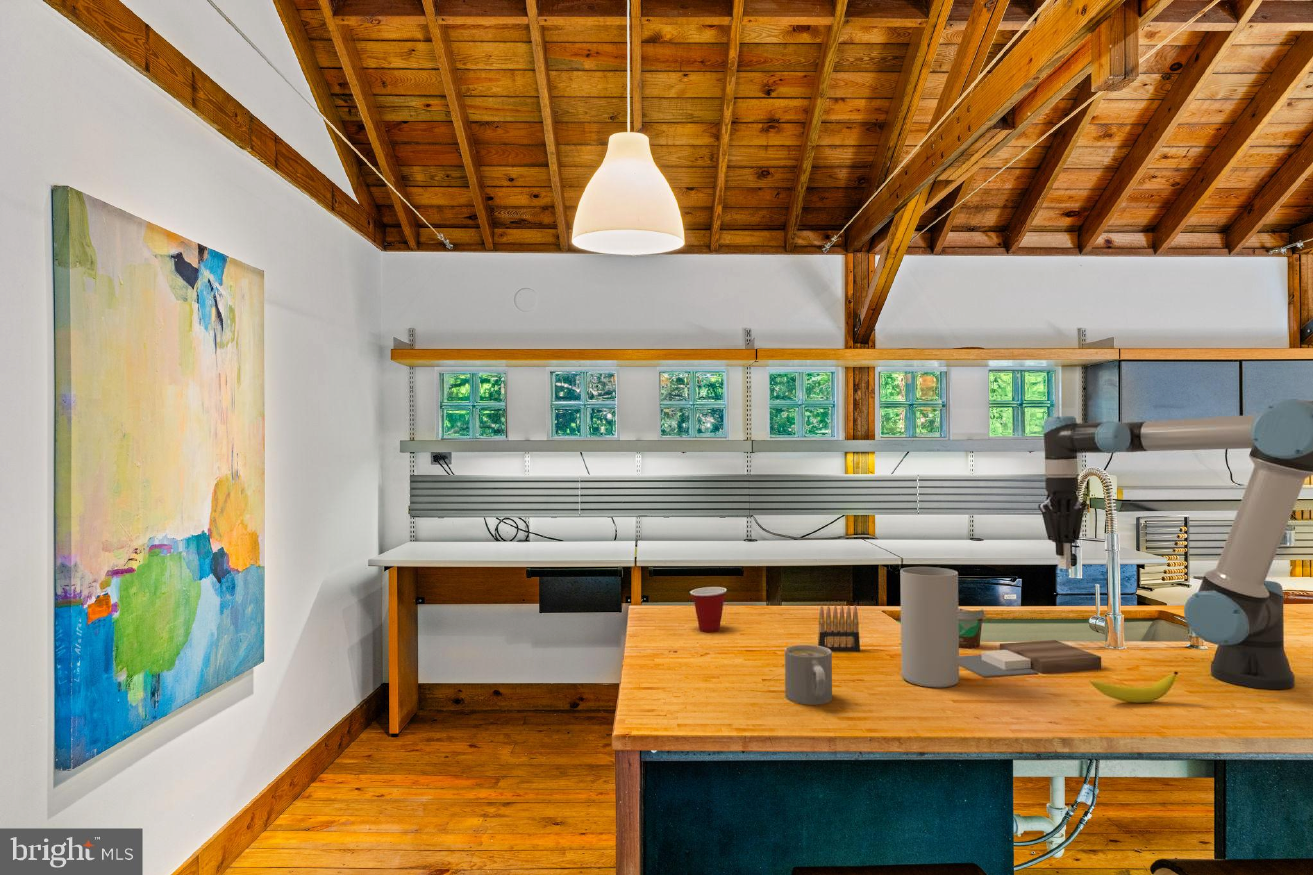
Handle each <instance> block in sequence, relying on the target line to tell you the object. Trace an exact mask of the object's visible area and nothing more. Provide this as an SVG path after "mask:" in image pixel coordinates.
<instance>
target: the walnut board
mask: <svg viewBox="0 0 1313 875" xmlns="http://www.w3.org/2000/svg"><path fill="white" fill-rule="evenodd" d="M999 650H1008V651H1011V652H1013V653H1016V654H1018V655H1021V656H1023V657H1026V658H1028V659H1031V668H1029V669H1032V670H1034V671H1036V672H1038V674H1041V675H1042V674H1053V673H1055V674H1056V673H1066V672H1068V673H1069V672H1081V671H1083V672H1085V671H1098V670H1102V656H1099V655H1097V654H1094V653H1092V652H1089V651H1086V650H1083V649H1081V648H1078V647H1075V646H1072V645H1070V644H1067V643H1064V642H1061V641H1059V640H1056V639H1051V640H1036V641H1022V642H1005V643H1004V642H1003V643H999Z"/></svg>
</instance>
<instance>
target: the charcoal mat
mask: <svg viewBox="0 0 1313 875" xmlns="http://www.w3.org/2000/svg"><path fill="white" fill-rule="evenodd" d="M959 667H961V668H964V669H966V670H967V671H970V673H971V672H972V673H974V675H975V674H976V675H978V676H980V677H982V678H984V679H985V678H998V677H1012V676H1025V675H1026V676H1028V675H1038V674H1039V672H1037V671H1035V670H1032V669H1030V668H1023V669H1010V670H1004V669H1002V668H1000V667H997V666H995V665H993V664H991V663H988V662H986V661H984V660H982V654H975V655H961V656H960V655H959Z"/></svg>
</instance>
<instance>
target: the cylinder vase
mask: <svg viewBox="0 0 1313 875" xmlns="http://www.w3.org/2000/svg"><path fill="white" fill-rule="evenodd" d="M899 573H900V574H899V575H900V576H899V577H900V641H901V642H900V646H901V647H900V648H901V649H900V651H901V652H900V656H901V658H900V659H901V660H900V662H901V666H900V667H901V668H900V669H901V676H902V678H903V679H904V680H905V681H906V682H908V683H910V684H913V685H916V686H920V687H927V688H938V689H939V688H941V689H942V688H948V687H953V686H955V685H957V684H958V683H959V681H960V666H959V656H960V648H959V623H958V609H959V573H958V571H956V570H954V569H950V568H942V567H933V566H931V567H930V566H913V567H912V566H911V567H904V568H901V569H900V572H899Z"/></svg>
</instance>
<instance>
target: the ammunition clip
mask: <svg viewBox="0 0 1313 875" xmlns="http://www.w3.org/2000/svg"><path fill="white" fill-rule="evenodd" d="M851 610H852V609H851V607H850V605H847V607H846V615H845V610H844V606H843V605H842V604H841V606H840V608H839V613H838V608H837V604H836V605H834V607H833V610H832V611H831V607H830V605H827V607H826V613H825V612H824V611H825V610H824V607H823V605H822V604H821V605H820V608H819V618H818V636H817V637H818V638H817V639H818V642H817V643H818V644H817V646H822V647H825V648H828V649H830V650H831V652H832V653H833V652H834V653H837V652H838V653H840V652H841V653H843V652H844V653H845V652H846V653H848V652H855V653H856V652H858V653H860V652H861V645H860V643H861V642H860V630H859V629H860V627H859V623H860V622H859V616H858V615H859V614H858V608H857V605H854V606H853V611H851ZM831 612H832V614H831ZM825 614H826V616H825ZM838 614H839V615H838ZM838 616H839V617H838ZM845 616H846V617H845ZM845 618H846V619H845Z"/></svg>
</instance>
